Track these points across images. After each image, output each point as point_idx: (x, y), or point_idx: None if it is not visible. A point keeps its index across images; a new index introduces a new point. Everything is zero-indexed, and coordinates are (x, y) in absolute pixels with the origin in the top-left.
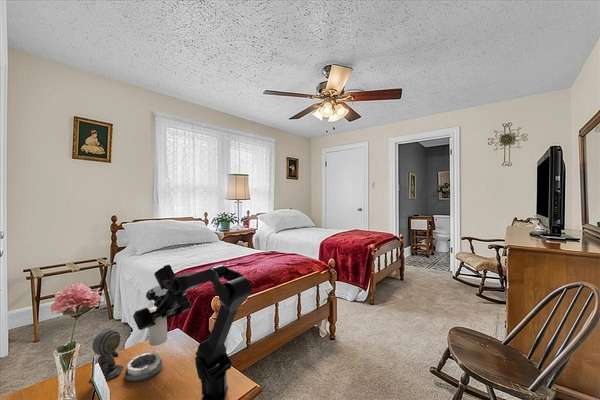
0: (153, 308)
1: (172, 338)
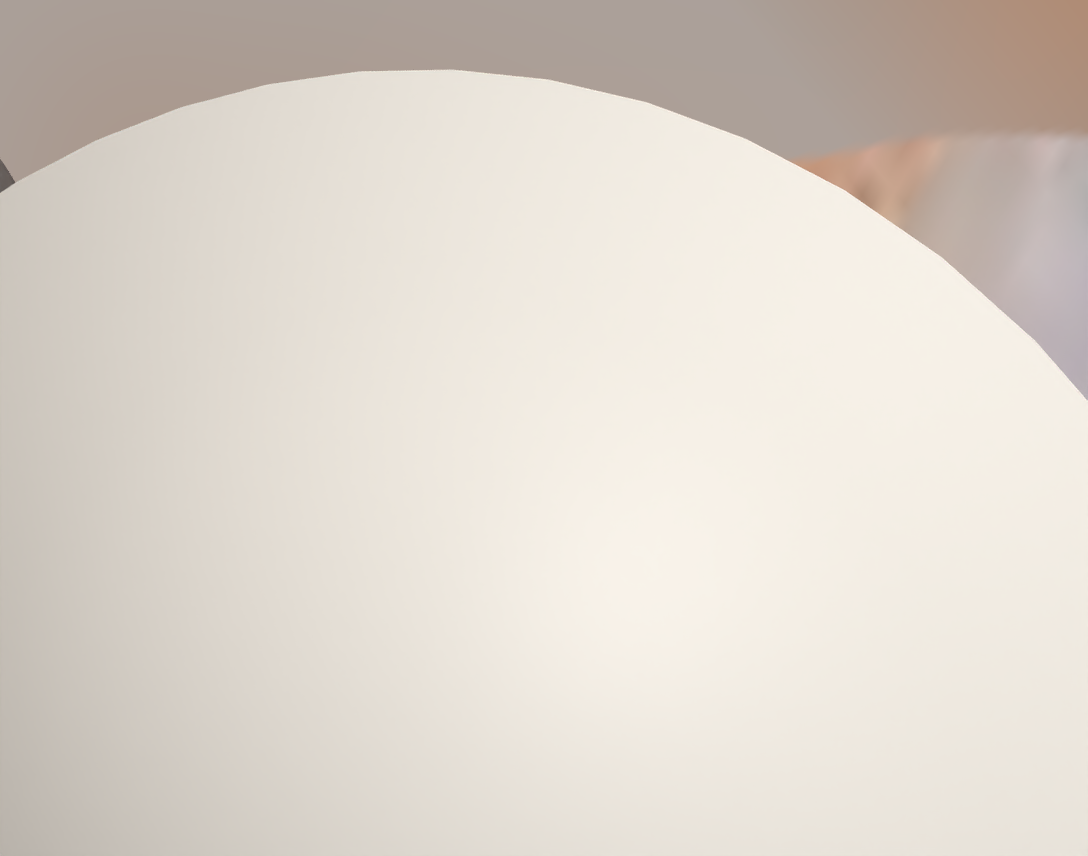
0: (210, 383)
1: (1061, 316)
